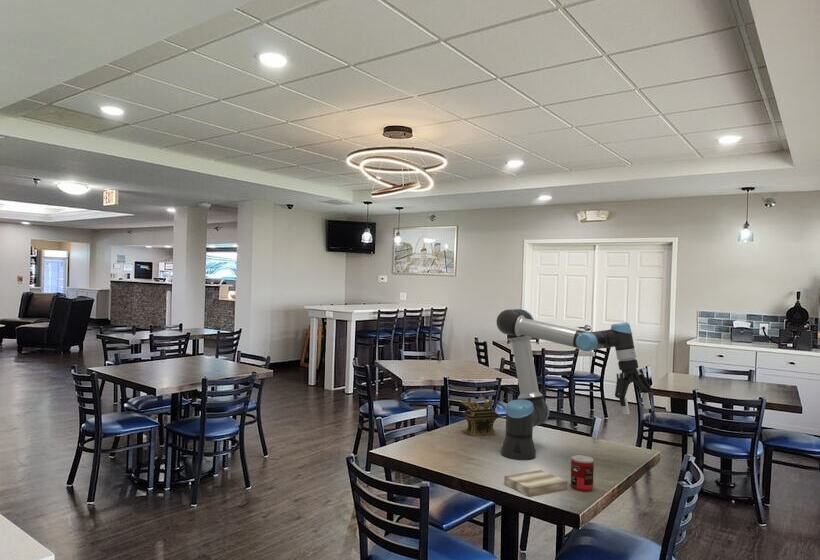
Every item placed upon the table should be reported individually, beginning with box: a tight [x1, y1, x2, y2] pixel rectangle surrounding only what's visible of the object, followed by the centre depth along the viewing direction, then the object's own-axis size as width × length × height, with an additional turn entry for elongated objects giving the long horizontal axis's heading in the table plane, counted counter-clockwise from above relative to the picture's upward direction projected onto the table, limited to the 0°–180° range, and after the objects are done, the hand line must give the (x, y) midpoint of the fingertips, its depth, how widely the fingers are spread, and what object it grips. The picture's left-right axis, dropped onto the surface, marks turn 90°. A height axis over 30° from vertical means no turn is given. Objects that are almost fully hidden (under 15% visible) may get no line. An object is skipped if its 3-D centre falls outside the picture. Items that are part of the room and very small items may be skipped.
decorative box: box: [460, 393, 500, 437], centre depth 281 cm, size 20×10×20 cm, turn 111°
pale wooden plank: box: [503, 469, 568, 498], centre depth 206 cm, size 14×18×3 cm
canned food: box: [570, 454, 595, 492], centre depth 207 cm, size 8×8×11 cm
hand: (637, 411), depth 229 cm, fingers open, 13 cm apart
